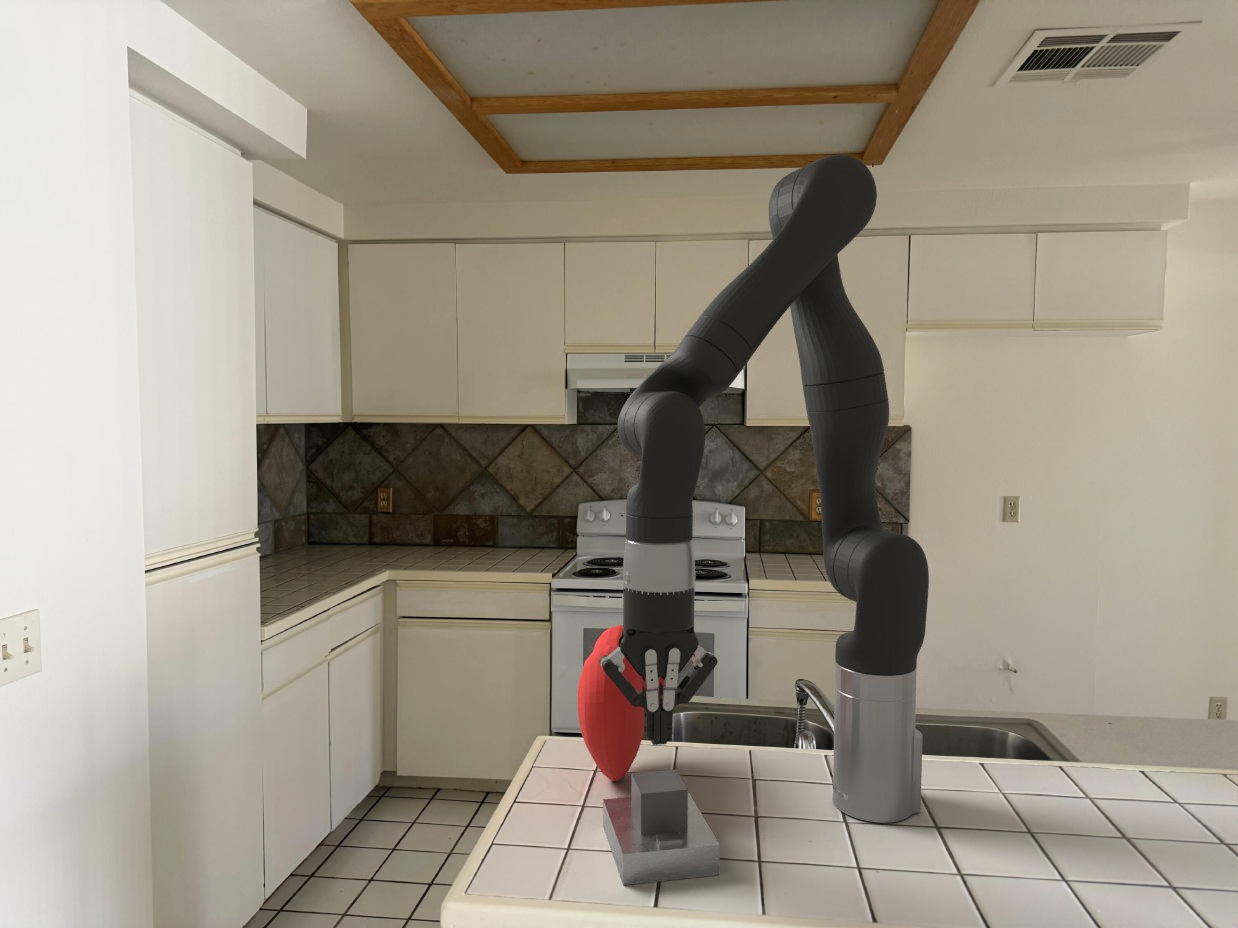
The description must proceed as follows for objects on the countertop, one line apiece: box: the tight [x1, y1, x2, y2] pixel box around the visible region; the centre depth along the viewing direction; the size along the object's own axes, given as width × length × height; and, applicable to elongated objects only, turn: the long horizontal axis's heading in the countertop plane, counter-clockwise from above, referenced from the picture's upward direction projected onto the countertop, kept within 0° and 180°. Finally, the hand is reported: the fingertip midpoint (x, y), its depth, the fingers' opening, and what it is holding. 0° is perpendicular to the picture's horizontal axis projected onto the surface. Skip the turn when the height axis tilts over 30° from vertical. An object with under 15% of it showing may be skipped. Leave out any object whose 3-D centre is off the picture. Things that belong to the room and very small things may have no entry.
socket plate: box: [602, 791, 721, 886], centre depth 91 cm, size 10×12×4 cm
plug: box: [630, 769, 689, 835], centre depth 91 cm, size 5×5×7 cm
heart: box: [576, 624, 645, 782], centre depth 108 cm, size 20×9×19 cm, turn 172°
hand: (657, 741), depth 90 cm, fingers closed
